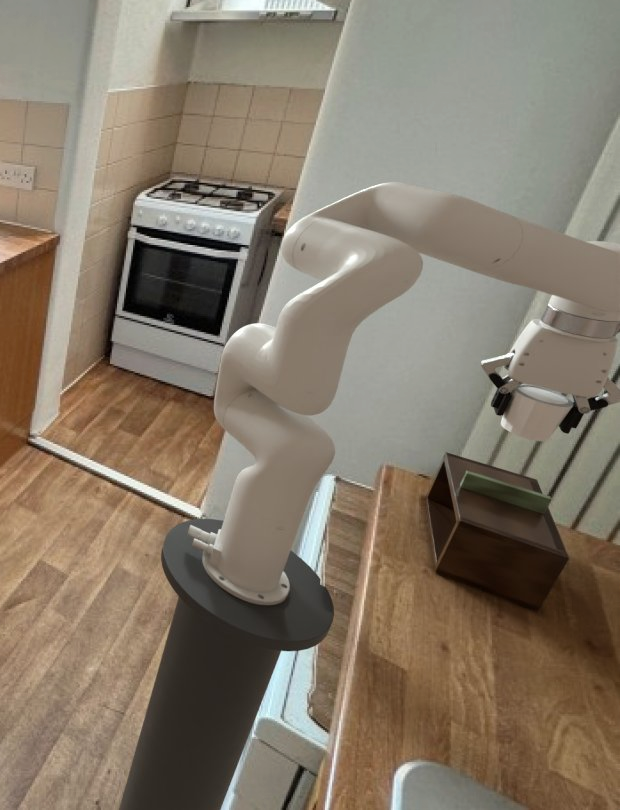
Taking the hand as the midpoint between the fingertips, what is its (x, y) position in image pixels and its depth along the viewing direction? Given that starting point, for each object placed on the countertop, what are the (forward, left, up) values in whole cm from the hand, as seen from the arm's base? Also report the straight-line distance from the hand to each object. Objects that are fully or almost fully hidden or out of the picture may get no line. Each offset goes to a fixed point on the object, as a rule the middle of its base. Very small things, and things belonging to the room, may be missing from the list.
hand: (529, 419), depth 97 cm
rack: (0, -4, -25) cm, 25 cm away
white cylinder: (0, 0, -2) cm, 2 cm away
